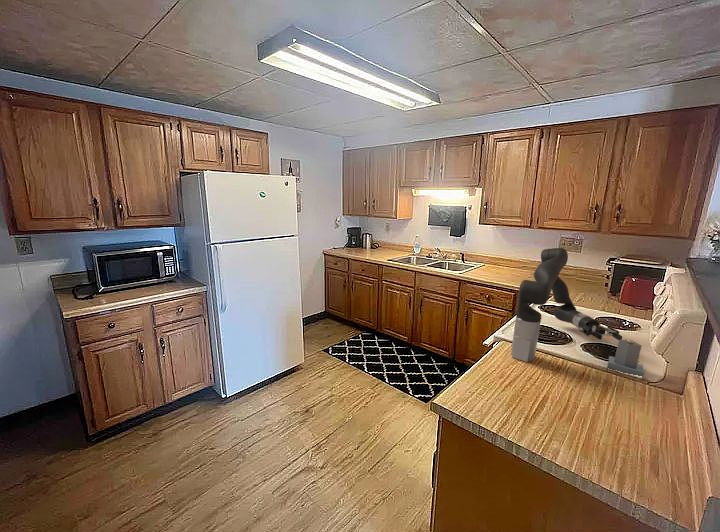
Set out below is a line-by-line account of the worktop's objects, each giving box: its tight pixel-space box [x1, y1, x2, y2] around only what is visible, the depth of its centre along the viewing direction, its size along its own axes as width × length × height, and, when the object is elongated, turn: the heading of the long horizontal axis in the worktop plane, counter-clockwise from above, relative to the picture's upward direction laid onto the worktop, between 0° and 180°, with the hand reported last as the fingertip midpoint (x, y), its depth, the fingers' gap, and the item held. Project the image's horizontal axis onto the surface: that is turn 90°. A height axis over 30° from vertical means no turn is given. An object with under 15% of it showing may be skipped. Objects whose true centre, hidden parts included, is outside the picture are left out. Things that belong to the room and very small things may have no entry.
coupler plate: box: [606, 355, 645, 378], centre depth 131 cm, size 12×11×3 cm
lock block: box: [614, 339, 642, 369], centre depth 130 cm, size 5×5×11 cm
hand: (611, 338), depth 139 cm, fingers open, 8 cm apart
